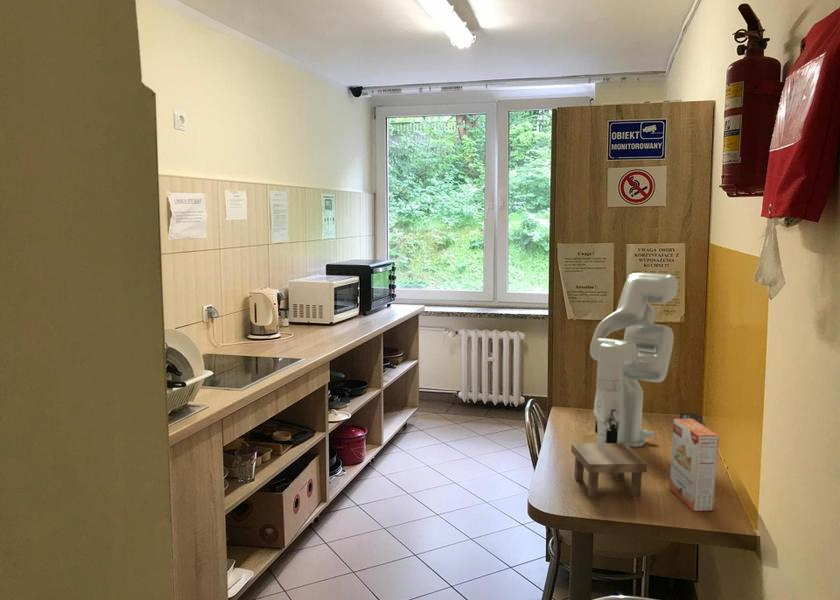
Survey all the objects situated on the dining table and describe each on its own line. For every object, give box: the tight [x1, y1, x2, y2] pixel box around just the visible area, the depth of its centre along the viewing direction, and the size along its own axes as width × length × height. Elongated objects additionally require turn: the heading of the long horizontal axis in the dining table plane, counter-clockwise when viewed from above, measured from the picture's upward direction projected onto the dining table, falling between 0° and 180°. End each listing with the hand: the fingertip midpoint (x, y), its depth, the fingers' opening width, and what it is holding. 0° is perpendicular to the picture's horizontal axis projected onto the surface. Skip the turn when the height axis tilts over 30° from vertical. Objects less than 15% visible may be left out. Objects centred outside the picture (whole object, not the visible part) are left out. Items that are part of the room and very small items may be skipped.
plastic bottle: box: [596, 415, 613, 443], centre depth 203 cm, size 6×7×20 cm
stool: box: [570, 442, 649, 499], centre depth 185 cm, size 16×16×10 cm
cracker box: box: [669, 418, 720, 512], centre depth 177 cm, size 14×6×21 cm, turn 4°
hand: (605, 438), depth 203 cm, fingers open, 9 cm apart
